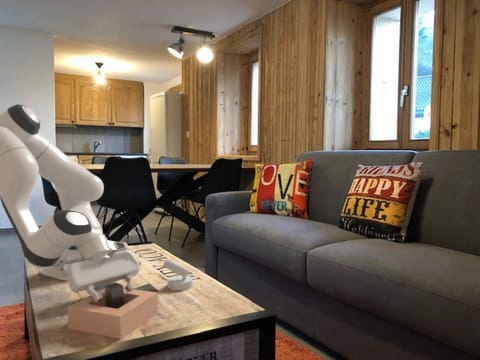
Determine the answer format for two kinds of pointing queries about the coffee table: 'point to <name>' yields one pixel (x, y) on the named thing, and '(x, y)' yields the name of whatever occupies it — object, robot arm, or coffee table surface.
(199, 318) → the coffee table surface
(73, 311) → the box
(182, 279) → the wall hook
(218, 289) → the coffee table surface
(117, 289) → the grey pillar on base
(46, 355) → the coffee table surface
